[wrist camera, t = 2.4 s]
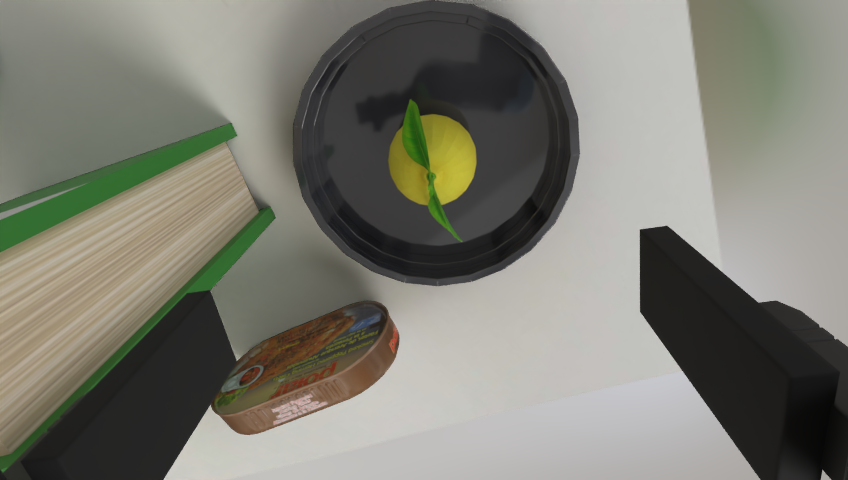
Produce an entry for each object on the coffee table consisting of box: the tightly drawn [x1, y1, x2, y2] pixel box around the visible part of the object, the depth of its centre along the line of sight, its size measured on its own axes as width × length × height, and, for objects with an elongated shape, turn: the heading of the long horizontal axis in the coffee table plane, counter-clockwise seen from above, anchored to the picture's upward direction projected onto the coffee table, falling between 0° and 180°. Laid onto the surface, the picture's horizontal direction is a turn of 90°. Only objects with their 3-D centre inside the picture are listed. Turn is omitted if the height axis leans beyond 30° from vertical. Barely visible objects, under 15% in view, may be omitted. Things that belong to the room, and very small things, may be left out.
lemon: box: [388, 99, 476, 242], centre depth 30 cm, size 7×6×10 cm
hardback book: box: [0, 123, 275, 473], centre depth 26 cm, size 18×7×24 cm, turn 108°
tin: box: [211, 301, 399, 435], centre depth 37 cm, size 15×3×8 cm, turn 115°
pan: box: [293, 0, 580, 286], centre depth 33 cm, size 18×18×4 cm
